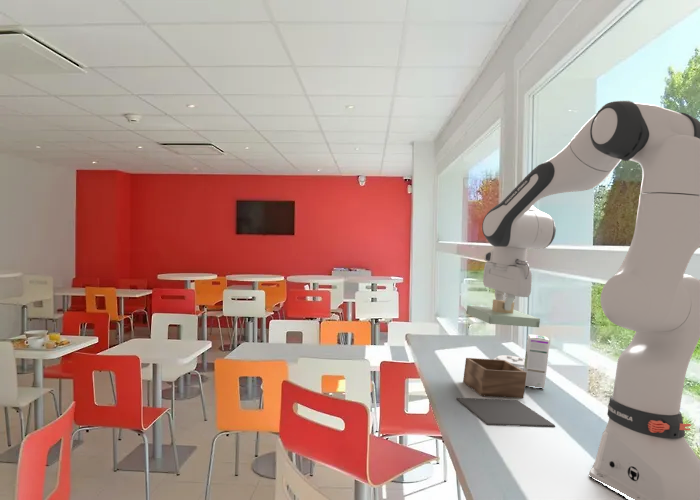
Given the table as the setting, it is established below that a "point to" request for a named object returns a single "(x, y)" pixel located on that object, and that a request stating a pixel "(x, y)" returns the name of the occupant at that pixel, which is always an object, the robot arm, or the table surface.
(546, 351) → the syrup box
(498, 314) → the green lid
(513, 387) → the walnut box
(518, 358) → the lid
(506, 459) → the table surface
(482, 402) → the black mat
